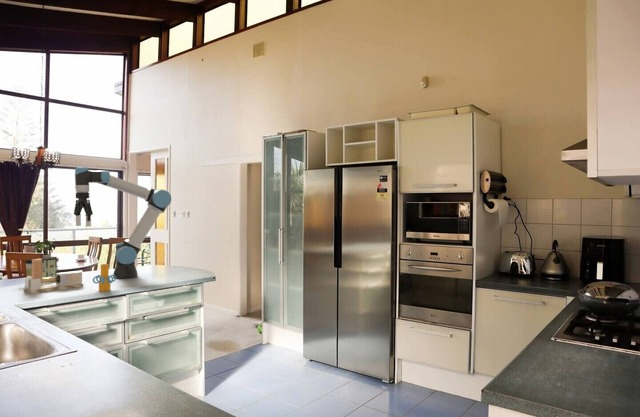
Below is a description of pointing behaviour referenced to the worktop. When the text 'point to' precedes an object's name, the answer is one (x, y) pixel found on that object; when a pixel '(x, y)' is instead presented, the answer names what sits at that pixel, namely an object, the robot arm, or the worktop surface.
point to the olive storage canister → (30, 267)
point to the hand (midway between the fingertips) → (83, 226)
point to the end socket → (32, 283)
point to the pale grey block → (69, 278)
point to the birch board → (52, 288)
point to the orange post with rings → (104, 278)
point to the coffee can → (49, 267)
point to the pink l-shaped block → (38, 272)
